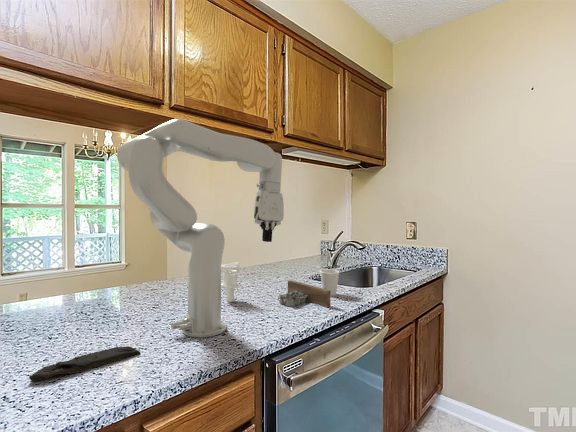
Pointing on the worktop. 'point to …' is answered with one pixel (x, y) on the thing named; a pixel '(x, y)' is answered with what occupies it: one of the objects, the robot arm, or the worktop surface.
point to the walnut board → (311, 293)
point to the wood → (85, 362)
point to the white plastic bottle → (230, 280)
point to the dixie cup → (330, 280)
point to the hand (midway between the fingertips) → (266, 241)
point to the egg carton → (292, 298)
